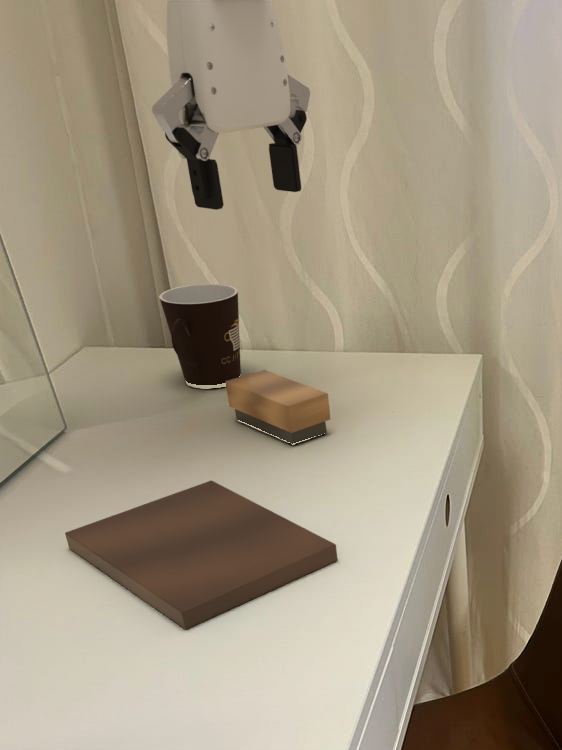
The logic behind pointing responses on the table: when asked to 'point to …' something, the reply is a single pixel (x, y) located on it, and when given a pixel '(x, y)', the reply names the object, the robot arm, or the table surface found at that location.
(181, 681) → the table surface
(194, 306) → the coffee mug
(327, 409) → the brush
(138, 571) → the board
